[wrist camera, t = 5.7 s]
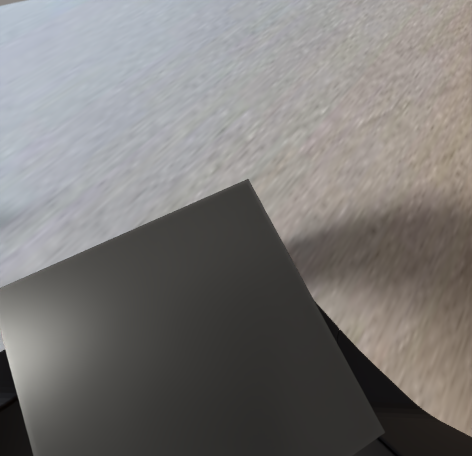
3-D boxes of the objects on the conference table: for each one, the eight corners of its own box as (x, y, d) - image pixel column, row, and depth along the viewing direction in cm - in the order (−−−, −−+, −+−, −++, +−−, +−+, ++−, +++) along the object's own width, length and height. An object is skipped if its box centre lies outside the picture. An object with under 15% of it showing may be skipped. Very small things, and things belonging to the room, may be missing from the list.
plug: (253, 305, 16) (385, 432, 3) (202, 333, 15) (82, 646, 2) (229, 254, 16) (247, 178, 4) (178, 279, 16) (-10, 292, 3)
